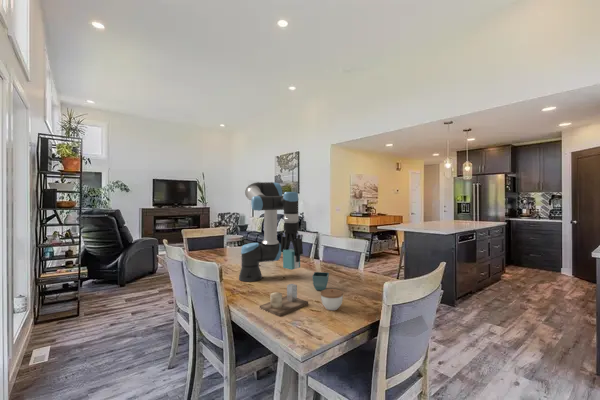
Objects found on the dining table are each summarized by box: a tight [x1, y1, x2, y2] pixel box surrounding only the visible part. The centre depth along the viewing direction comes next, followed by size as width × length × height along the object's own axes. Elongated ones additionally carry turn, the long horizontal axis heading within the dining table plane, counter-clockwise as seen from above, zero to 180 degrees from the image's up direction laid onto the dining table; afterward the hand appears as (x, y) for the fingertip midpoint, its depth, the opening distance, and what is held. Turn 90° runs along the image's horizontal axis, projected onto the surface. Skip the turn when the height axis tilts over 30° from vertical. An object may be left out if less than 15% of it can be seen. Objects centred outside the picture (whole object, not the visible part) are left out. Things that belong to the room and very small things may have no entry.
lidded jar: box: [320, 288, 344, 311], centre depth 143 cm, size 11×11×9 cm
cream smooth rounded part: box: [269, 292, 283, 309], centre depth 141 cm, size 6×6×8 cm
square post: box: [286, 283, 298, 302], centre depth 150 cm, size 4×4×10 cm
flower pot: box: [311, 271, 330, 291], centre depth 172 cm, size 9×9×9 cm
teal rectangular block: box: [282, 248, 301, 270], centre depth 149 cm, size 6×6×9 cm
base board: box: [259, 295, 309, 317], centre depth 146 cm, size 14×20×2 cm
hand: (291, 267), depth 149 cm, fingers closed on teal rectangular block, 6 cm apart
